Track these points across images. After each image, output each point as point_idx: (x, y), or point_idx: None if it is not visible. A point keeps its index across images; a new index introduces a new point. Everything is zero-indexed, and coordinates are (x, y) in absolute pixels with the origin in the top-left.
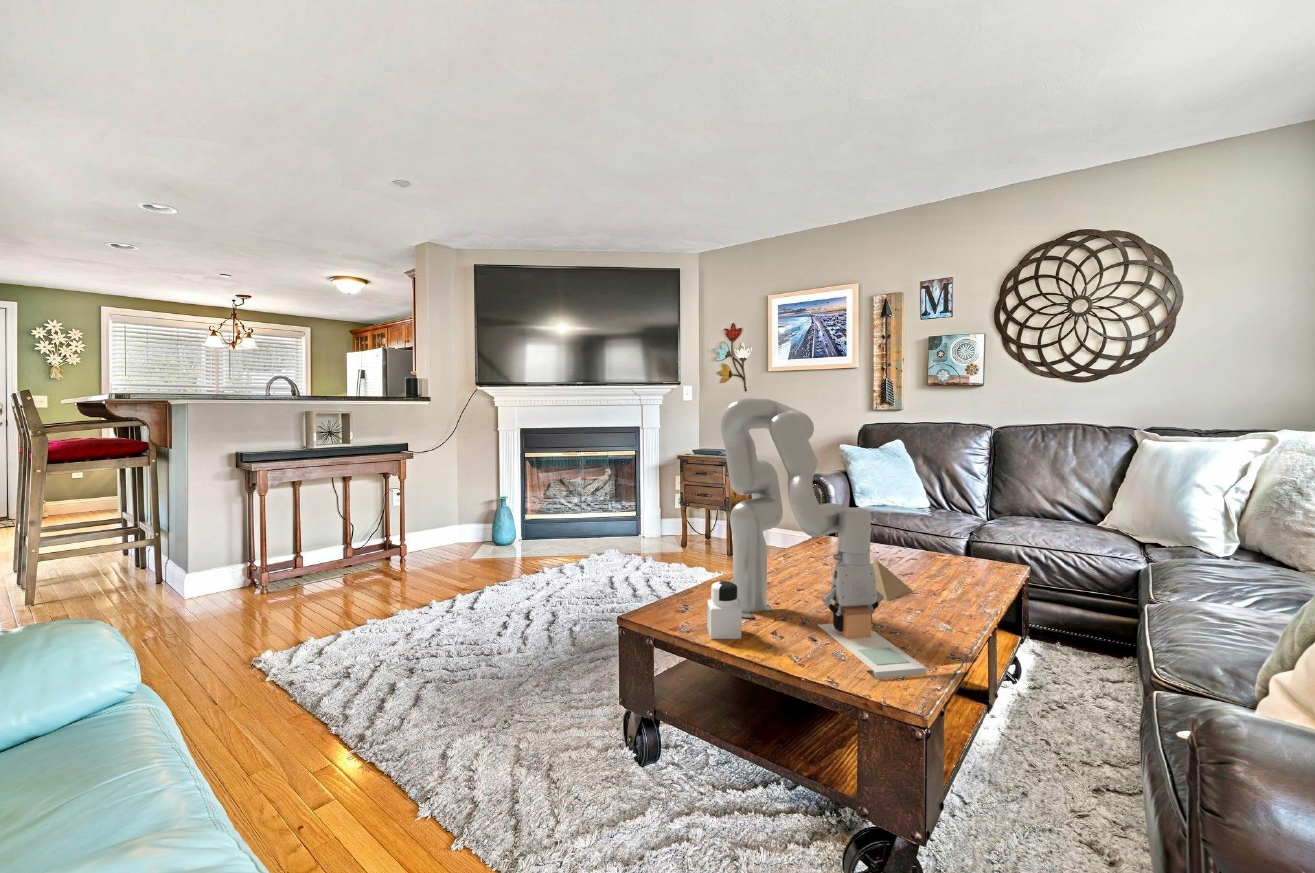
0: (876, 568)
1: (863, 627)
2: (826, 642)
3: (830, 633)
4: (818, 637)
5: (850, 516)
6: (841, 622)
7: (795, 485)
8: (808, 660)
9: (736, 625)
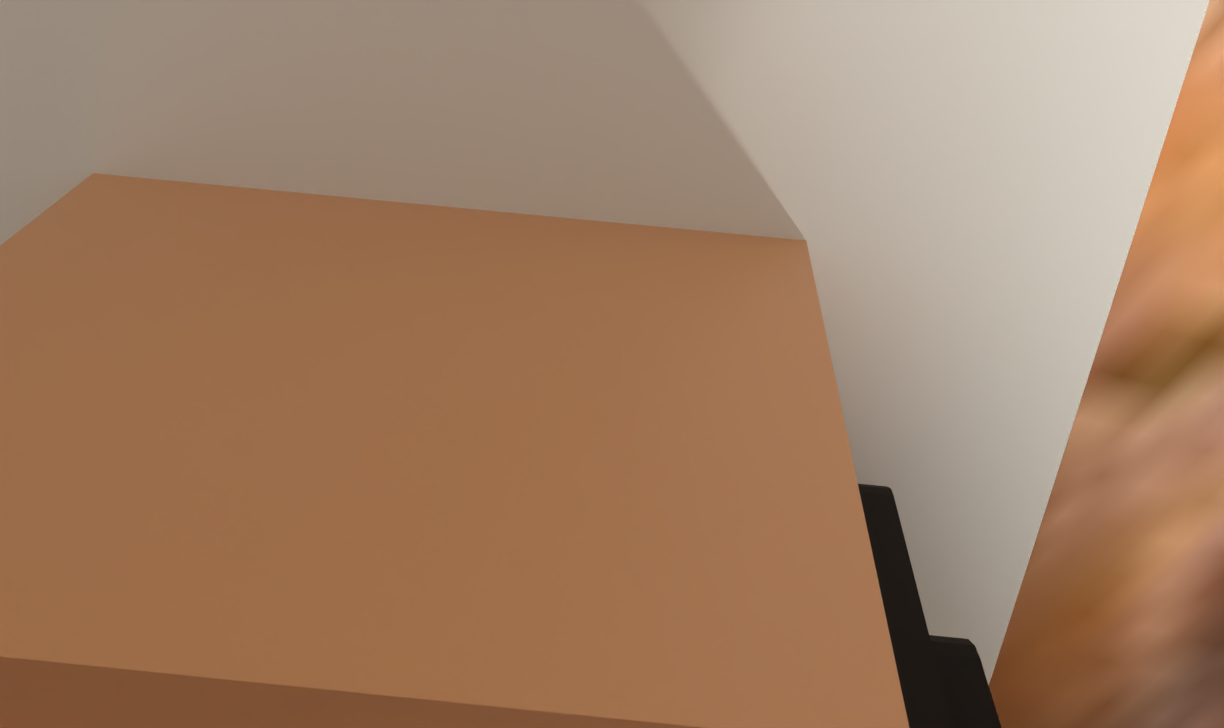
0: None
1: (215, 328)
2: (1128, 418)
3: (960, 605)
4: (1092, 648)
5: None
6: (901, 663)
7: None
8: None
9: None
